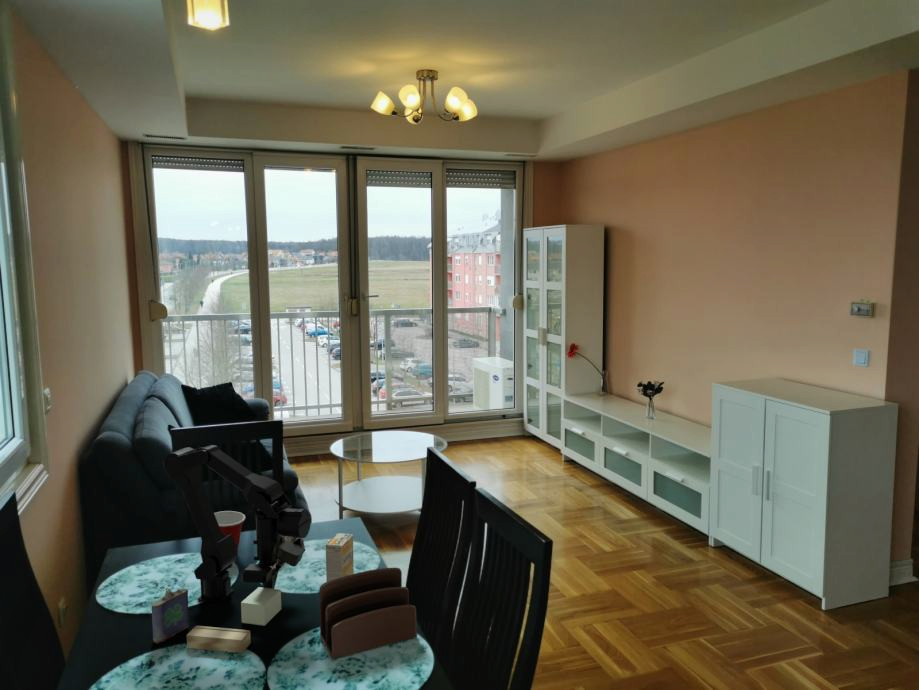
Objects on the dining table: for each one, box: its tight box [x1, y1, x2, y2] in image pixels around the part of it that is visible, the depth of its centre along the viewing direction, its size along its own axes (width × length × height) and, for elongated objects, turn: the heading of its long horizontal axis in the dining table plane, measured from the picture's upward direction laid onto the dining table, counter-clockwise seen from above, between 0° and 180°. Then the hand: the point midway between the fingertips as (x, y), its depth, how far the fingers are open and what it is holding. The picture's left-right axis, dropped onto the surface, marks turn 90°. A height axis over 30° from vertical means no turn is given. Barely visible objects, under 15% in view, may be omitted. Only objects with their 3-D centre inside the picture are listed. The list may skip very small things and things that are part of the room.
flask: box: [150, 587, 190, 644], centre depth 155 cm, size 9×3×11 cm, turn 151°
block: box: [240, 586, 282, 626], centre depth 163 cm, size 6×8×5 cm
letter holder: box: [318, 567, 418, 660], centre depth 153 cm, size 10×20×14 cm, turn 117°
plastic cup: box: [214, 510, 246, 553], centre depth 197 cm, size 11×11×12 cm
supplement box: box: [325, 532, 355, 582], centre depth 178 cm, size 8×5×13 cm, turn 168°
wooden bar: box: [186, 625, 252, 654], centre depth 151 cm, size 13×4×3 cm, turn 81°
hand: (270, 593), depth 169 cm, fingers closed
